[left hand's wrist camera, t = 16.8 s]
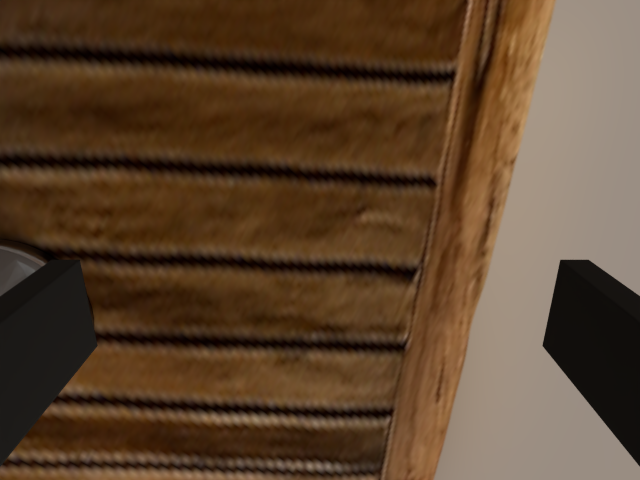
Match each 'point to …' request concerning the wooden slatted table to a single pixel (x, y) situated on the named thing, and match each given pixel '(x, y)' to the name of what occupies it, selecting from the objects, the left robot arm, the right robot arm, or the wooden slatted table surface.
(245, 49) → the wooden slatted table surface
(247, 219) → the wooden slatted table surface
